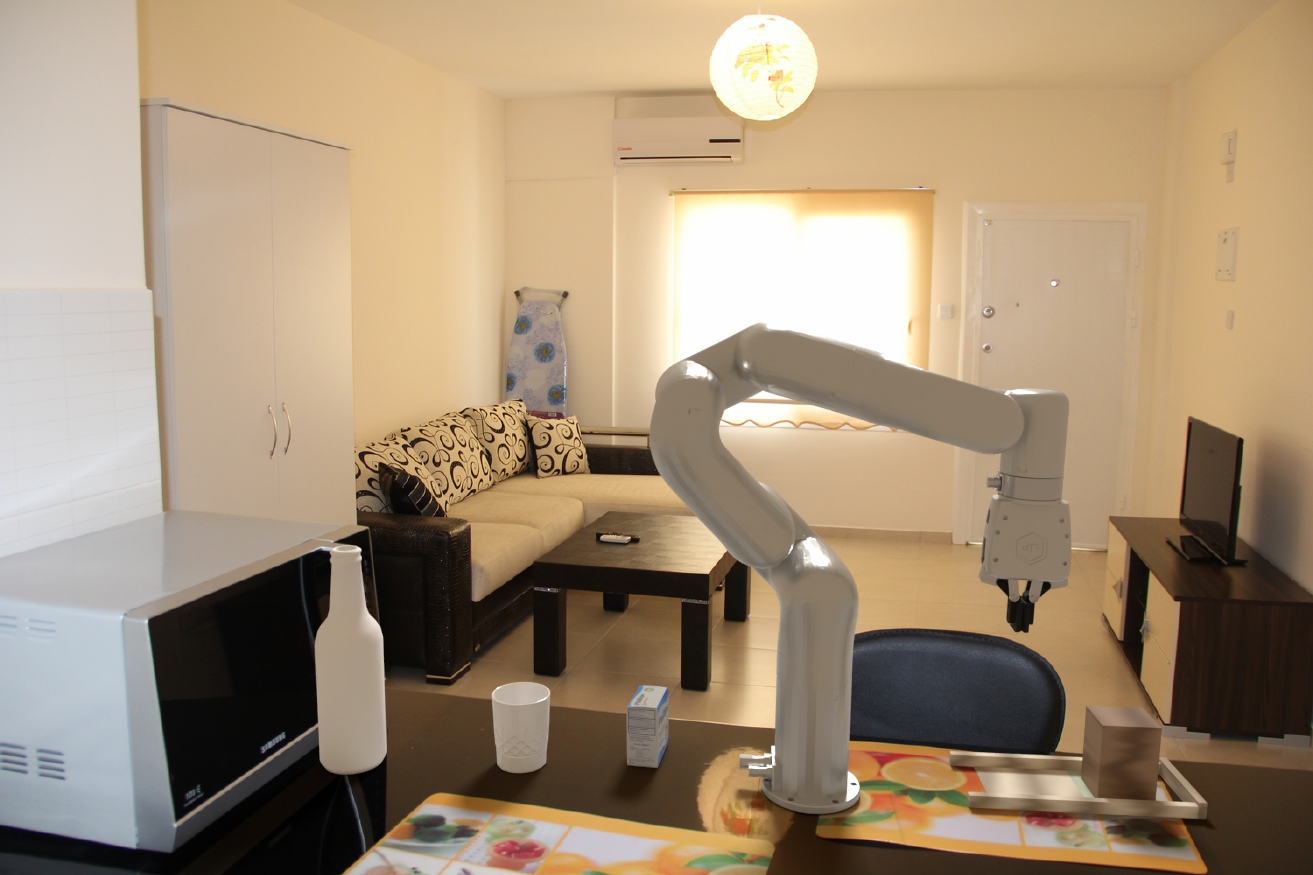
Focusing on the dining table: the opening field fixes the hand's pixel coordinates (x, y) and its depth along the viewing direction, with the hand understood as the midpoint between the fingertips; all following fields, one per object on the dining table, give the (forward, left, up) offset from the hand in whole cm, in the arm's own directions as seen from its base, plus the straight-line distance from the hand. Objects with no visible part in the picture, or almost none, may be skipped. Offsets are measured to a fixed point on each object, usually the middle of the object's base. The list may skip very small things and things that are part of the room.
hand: (1019, 628), depth 126 cm
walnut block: (+13, -2, -20) cm, 24 cm away
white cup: (-65, +1, -22) cm, 69 cm away
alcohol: (-88, -1, -22) cm, 91 cm away
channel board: (+7, -2, -22) cm, 23 cm away
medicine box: (-48, +5, -22) cm, 53 cm away
